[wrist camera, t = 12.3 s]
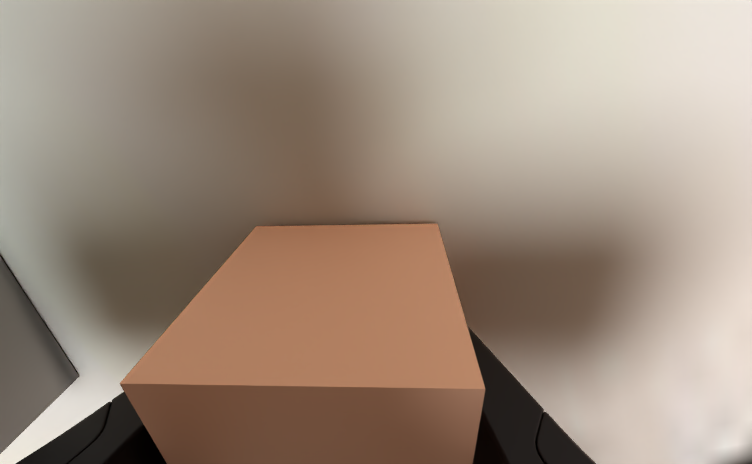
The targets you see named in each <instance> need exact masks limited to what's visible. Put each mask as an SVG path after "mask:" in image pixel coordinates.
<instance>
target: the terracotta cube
mask: <svg viewBox="0 0 752 464" xmlns="http://www.w3.org/2000/svg"><path fill="white" fill-rule="evenodd" d="M120 385H121V387H122V388H123V390H124V392H125V393H126V395H127V397H128V399H129V400H130V402H131V404H132V405H133V407H134V409H135V410H136V412H137V414H138V415H139V417H140V419H141V421H142V422H143V424H144V426H145V427H146V429H147V431H148V432H149V434H150V436H151V437H152V439H153V441H154V443H155V444H156V446H157V448H158V449H159V451H160V453H161V454H162V456H163V458H164V459H165V461H166V463H167V464H473V458H474V452H475V447H476V441H477V435H478V429H479V423H480V418H481V412H482V406H483V400H484V394H485V386H484V382H483V379H482V375H481V372H480V369H479V365H478V362H477V358H476V355H475V351H474V348H473V344H472V341H471V337H470V334H469V330H468V327H467V324H466V320H465V317H464V313H463V310H462V306H461V303H460V299H459V296H458V292H457V289H456V286H455V282H454V279H453V275H452V272H451V268H450V265H449V261H448V258H447V254H446V251H445V247H444V244H443V241H442V237H441V234H440V230H439V227H438V224H374V225H307V226H256V227H255V228H254V229H253V230H252V231H251V233H250V234H249V235H248V236H247V237H246V238H245V240H244V241H243V242H242V243H241V244H240V245H239V246H238V248H237V249H236V250H235V251H234V252H233V253H232V254H231V256H230V257H229V258H228V259H227V260H226V261H225V263H224V264H223V265H222V266H221V267H220V268H219V269H218V271H217V272H216V273H215V274H214V275H213V276H212V278H211V279H210V280H209V281H208V282H207V283H206V284H205V286H204V287H203V288H202V289H201V290H200V291H199V293H198V294H197V295H196V296H195V297H194V298H193V299H192V301H191V302H190V303H189V304H188V305H187V306H186V308H185V309H184V310H183V311H182V312H181V313H180V314H179V316H178V317H177V318H176V319H175V320H174V321H173V323H172V324H171V325H170V326H169V327H168V328H167V329H166V331H165V332H164V333H163V334H162V335H161V336H160V337H159V339H158V340H157V341H156V342H155V343H154V344H153V346H152V347H151V348H150V349H149V350H148V351H147V352H146V354H145V355H144V356H143V357H142V358H141V359H140V361H139V362H138V363H137V364H136V365H135V366H134V367H133V369H132V370H131V371H130V372H129V373H128V374H127V376H126V377H125V378H124V379H123V380H122V381H121V382H120Z"/></svg>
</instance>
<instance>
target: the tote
mask: <svg viewBox="0 0 752 464" xmlns="http://www.w3.org/2000/svg"><path fill="white" fill-rule="evenodd" d="M78 377H79V375H78V374H77V372H76V371H75V369H74V368H73V366H72V365H71V363H70V362H69V360H68V359H67V357H66V356H65V354H64V353H63V351H62V350H61V348H60V346H59V345H58V343H57V342H56V340H55V339H54V337H53V336H52V334H51V333H50V331H49V330H48V328H47V327H46V325H45V324H44V322H43V321H42V319H41V318H40V316H39V315H38V313H37V312H36V310H35V308H34V307H33V305H32V304H31V302H30V301H29V299H28V298H27V296H26V295H25V293H24V292H23V290H22V289H21V287H20V286H19V284H18V283H17V281H16V280H15V278H14V277H13V275H12V274H11V272H10V270H9V269H8V267H7V266H6V264H5V263H4V261H3V260H2V258H1V257H0V454H1V453H2V452H3V451H4V450H5V449H6V448H7V447H8V446H9V445H10V444H11V443H12V442H13V441H14V440H15V439H16V438H17V437H18V436H19V435H20V434H21V433H22V432H23V431H24V430H25V429H26V428H27V427H28V426H29V425H30V424H31V423H32V422H33V421H34V420H35V419H36V418H37V417H38V416H39V415H40V414H41V413H42V412H43V411H44V410H45V409H46V408H47V407H48V406H50V405H51V404H52V403H53V402H54V401H55V400H56V399H57V398H58V397H59V396H60V395H61V394H62V393H63V392H64V391H65V390H66V389H67V388H68V387H69V386H70V385H71V384H72V383H73V382H74V381H75V380H76V379H77V378H78Z"/></svg>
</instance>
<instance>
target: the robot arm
mask: <svg viewBox="0 0 752 464" xmlns="http://www.w3.org/2000/svg"><path fill="white" fill-rule="evenodd" d="M467 327H468V326H467ZM468 330H469V334H470V337H471V341H472V344H473V348H474V351H475V355H476V358H477V362H478V365H479V369H480V372H481V375H482V379H483V382H484V386H485V394H484V400H483V406H482V412H481V418H480V423H479V429H478V435H477V441H476V447H475V452H474V458H473V464H596V463H595V462H594V461H593V460H592V459H591V458H590V457H589V456H588V455H587V454H586V453H585V452H584V451H582V450H581V449H580V447H579V446H578V445H577V444H576V443H575V442H574V441H573V440H572V439H571V438H570V437H569V436H568V435H567V434H566V433H565V432H564V431H563V430H562V429H561V428H560V427H559V425H558V424H557V423H556V422H555V421H554V420H553V419H552V418H551V417H550V416H549V414H548V413H547V412H544V409H543V408H542V407H541V406H540V405H539V404H538V403H537V402H536V400H535V399H534V398H533V397H532V396H531V395H530V394H529V393H528V392H527V391H526V389H525V388H524V387H523V386H522V385H521V384H520V383H519V382H518V381H517V380H516V379H515V377H514V376H513V375H512V374H511V373H510V372H509V371H508V370H507V369H506V368H505V366H504V365H503V364H502V363H501V362H500V361H499V360H498V359H497V358H496V357H495V355H494V354H493V353H492V352H491V351H490V350H489V349H488V348H487V347H486V346H485V345H484V343H483V342H482V341H481V340H480V339H479V338H478V337H477V336H476V335H475V334H474V332H473V331H472V330H471V329H470V328H469V327H468ZM543 412H544V413H543ZM16 464H167V463H166V461H165V459H164V458H163V456H162V454H161V453H160V451H159V449H158V448H157V446H156V444H155V443H154V441H153V439H152V437H151V436H150V434H149V432H148V431H147V429H146V427H145V426H144V424H143V422H142V421H141V419H140V417H139V415H138V414H137V412H136V410H135V409H134V407H133V405H132V404H131V402H130V400H129V399H128V397H127V395H126V393H125V392H123V393H121V394H120V395H118V396H117V397H116V398H114V399H113V400H112V402H108V403H107V404H105V405H104V406H103V407H101V408H100V409H98V410H97V411H95V412H94V413H93V414H91V415H90V416H88V417H87V418H85V419H84V420H82V421H81V422H79V423H78V424H76V425H75V426H73V427H72V428H70V429H69V430H67V431H66V432H64V433H63V434H61V435H60V436H58V437H57V438H55V439H54V440H52V441H51V442H49V443H47V444H46V445H44V446H43V447H41V448H40V449H38V450H37V451H35V452H33V453H32V454H30V455H29V456H27V457H26V458H24V459H22V460H21V461H19V462H18V463H16Z"/></svg>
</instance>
